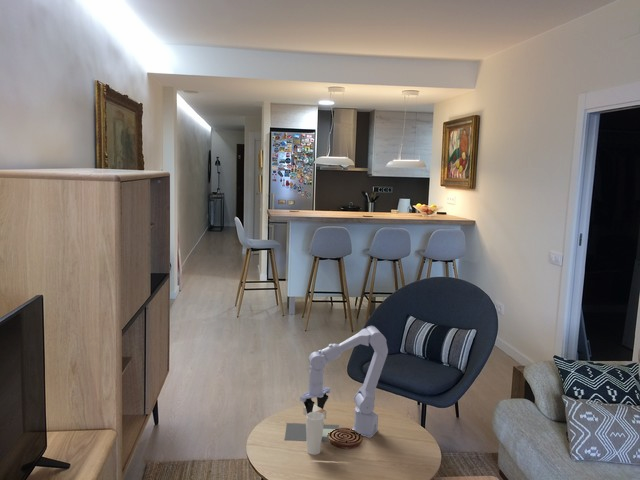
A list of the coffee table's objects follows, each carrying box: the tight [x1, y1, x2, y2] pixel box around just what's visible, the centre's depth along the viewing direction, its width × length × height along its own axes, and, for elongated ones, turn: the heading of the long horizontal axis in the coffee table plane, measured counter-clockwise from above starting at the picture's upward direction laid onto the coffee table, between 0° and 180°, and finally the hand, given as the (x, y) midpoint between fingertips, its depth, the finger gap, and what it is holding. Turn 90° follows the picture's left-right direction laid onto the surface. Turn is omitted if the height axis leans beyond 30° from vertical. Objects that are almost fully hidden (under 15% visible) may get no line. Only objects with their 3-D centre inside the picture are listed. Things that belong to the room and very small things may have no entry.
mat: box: [284, 422, 340, 443], centre depth 218 cm, size 22×14×1 cm, turn 90°
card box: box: [302, 403, 327, 420], centre depth 217 cm, size 8×5×3 cm, turn 42°
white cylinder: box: [305, 412, 325, 456], centre depth 203 cm, size 7×7×15 cm
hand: (314, 413), depth 217 cm, fingers closed on card box, 5 cm apart
